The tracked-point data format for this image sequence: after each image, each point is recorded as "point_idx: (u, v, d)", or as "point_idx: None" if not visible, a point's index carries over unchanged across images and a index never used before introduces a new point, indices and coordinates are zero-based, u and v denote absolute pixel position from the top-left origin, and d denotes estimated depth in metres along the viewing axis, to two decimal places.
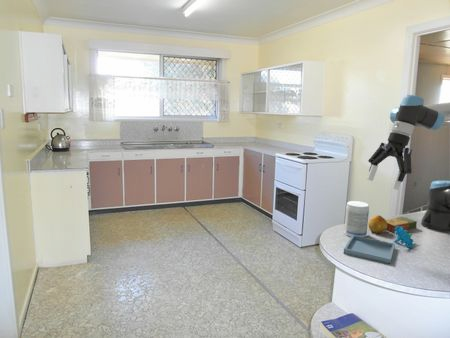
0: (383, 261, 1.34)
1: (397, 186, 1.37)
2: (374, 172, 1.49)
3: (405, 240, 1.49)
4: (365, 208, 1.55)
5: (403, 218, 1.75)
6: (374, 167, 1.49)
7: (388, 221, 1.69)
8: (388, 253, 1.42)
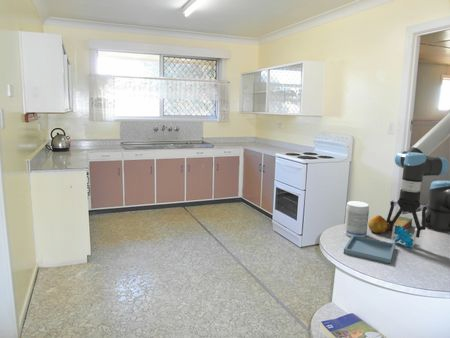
0: (383, 261, 1.34)
1: None
2: (394, 231, 1.53)
3: (405, 240, 1.49)
4: (365, 208, 1.55)
5: (398, 217, 1.76)
6: None
7: None
8: (388, 253, 1.42)
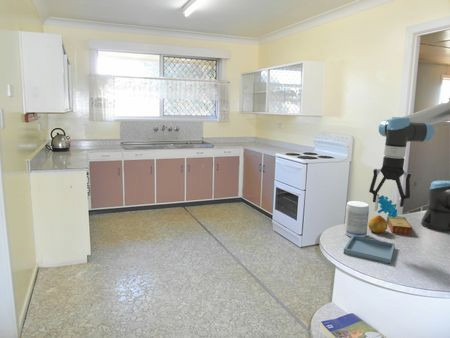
0: (383, 261, 1.34)
1: None
2: None
3: (389, 209, 1.42)
4: (365, 208, 1.55)
5: None
6: (378, 197, 1.45)
7: (398, 224, 1.65)
8: (388, 253, 1.42)
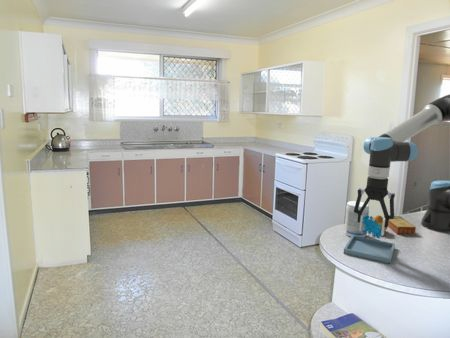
0: (383, 261, 1.34)
1: None
2: (362, 221, 1.45)
3: (373, 230, 1.40)
4: (365, 208, 1.55)
5: None
6: (363, 217, 1.44)
7: (402, 225, 1.65)
8: (388, 253, 1.42)
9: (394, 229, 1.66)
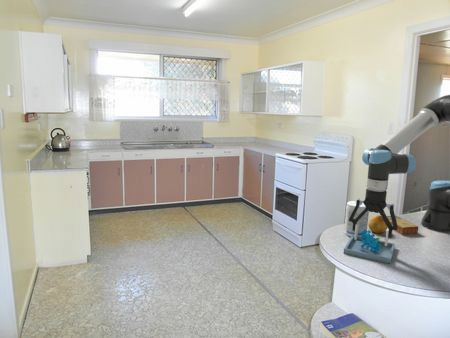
0: (383, 261, 1.34)
1: (387, 241, 1.41)
2: (357, 229, 1.46)
3: (371, 244, 1.42)
4: None
5: (387, 217, 1.75)
6: (357, 226, 1.45)
7: (405, 225, 1.64)
8: (388, 253, 1.42)
9: (398, 230, 1.65)
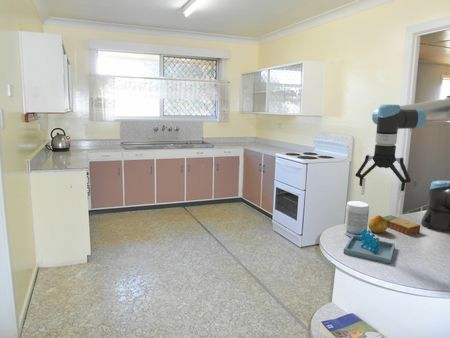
0: (383, 261, 1.34)
1: (400, 195, 1.41)
2: (364, 185, 1.47)
3: (371, 244, 1.42)
4: (365, 208, 1.55)
5: (386, 217, 1.74)
6: (364, 180, 1.46)
7: (408, 225, 1.65)
8: (388, 253, 1.42)
9: (402, 230, 1.65)
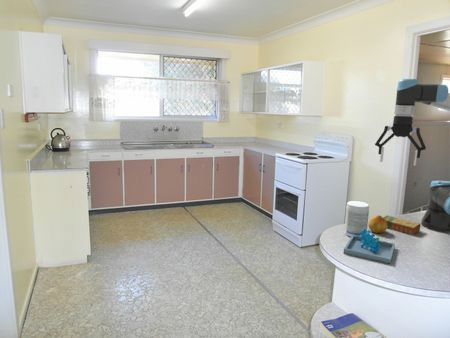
0: (383, 261, 1.34)
1: None
2: None
3: (370, 244, 1.42)
4: (365, 208, 1.55)
5: (385, 218, 1.73)
6: (383, 149, 1.61)
7: (411, 224, 1.65)
8: (388, 253, 1.42)
9: (406, 230, 1.65)
